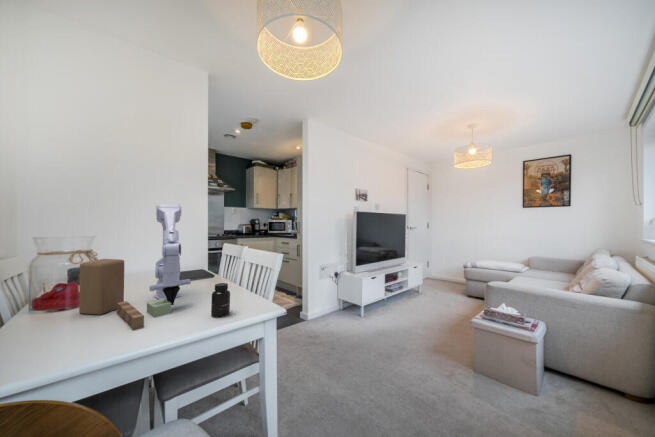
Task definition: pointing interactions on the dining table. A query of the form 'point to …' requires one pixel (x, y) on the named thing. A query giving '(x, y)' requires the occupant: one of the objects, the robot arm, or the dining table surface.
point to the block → (101, 286)
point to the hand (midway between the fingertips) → (170, 304)
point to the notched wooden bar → (130, 315)
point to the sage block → (158, 307)
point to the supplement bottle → (220, 300)
